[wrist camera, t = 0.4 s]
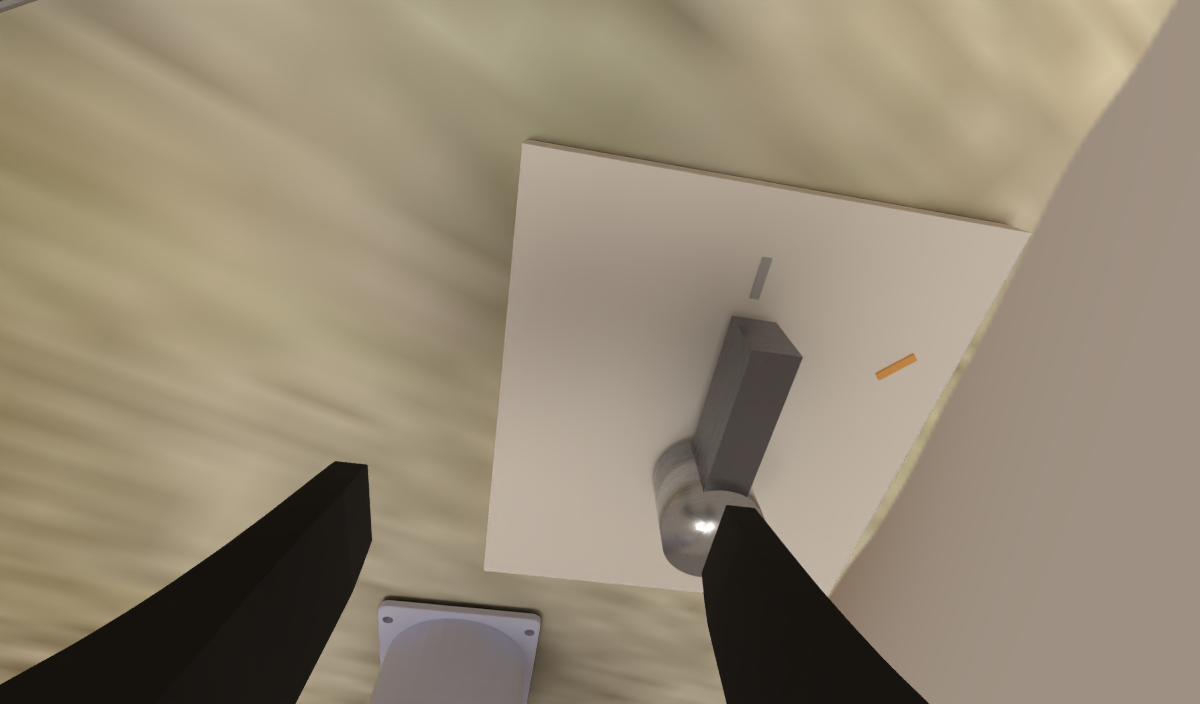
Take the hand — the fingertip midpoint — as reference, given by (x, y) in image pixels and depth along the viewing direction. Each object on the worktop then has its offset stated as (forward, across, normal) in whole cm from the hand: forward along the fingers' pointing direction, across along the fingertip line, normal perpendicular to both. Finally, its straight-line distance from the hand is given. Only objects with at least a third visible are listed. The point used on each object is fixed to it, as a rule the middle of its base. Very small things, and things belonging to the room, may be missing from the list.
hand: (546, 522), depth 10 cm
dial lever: (+8, -6, +2) cm, 10 cm away
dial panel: (+9, -6, +3) cm, 11 cm away
